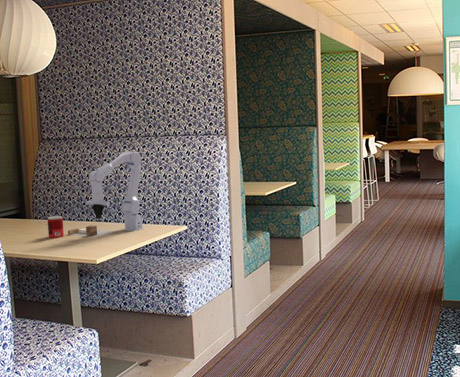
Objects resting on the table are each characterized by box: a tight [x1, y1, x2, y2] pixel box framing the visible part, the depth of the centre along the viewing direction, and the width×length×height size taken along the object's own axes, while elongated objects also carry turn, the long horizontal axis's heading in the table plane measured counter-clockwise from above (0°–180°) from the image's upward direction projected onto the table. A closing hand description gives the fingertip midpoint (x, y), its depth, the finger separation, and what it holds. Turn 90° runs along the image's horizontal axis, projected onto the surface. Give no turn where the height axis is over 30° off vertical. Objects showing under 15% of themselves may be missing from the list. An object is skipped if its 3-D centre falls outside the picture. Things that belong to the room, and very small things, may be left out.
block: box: [85, 225, 98, 237], centre depth 335 cm, size 4×4×5 cm
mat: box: [72, 229, 116, 238], centre depth 342 cm, size 20×17×1 cm
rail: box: [67, 228, 80, 236], centre depth 342 cm, size 2×7×2 cm, turn 152°
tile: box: [79, 227, 86, 234], centre depth 344 cm, size 2×7×7 cm
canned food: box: [47, 215, 65, 239], centre depth 335 cm, size 8×8×11 cm
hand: (98, 218), depth 334 cm, fingers closed
